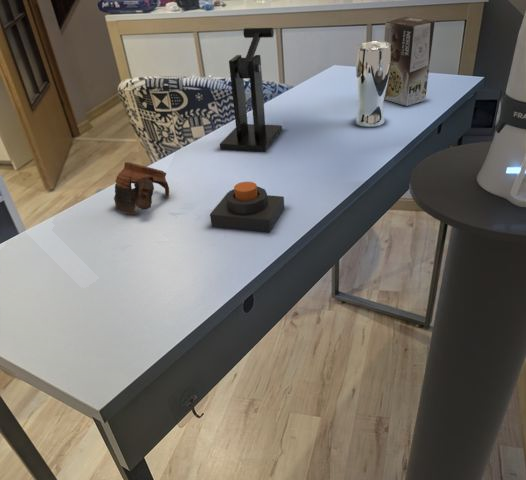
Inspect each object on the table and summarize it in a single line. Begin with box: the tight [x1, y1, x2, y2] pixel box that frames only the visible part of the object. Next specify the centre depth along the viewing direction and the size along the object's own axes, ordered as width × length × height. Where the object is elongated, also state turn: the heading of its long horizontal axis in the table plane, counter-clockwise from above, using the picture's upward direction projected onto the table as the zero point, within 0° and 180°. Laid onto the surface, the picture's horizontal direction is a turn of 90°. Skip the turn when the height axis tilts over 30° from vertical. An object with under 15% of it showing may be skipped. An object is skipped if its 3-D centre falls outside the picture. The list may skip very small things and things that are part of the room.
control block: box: [209, 185, 285, 233], centre depth 84 cm, size 10×8×4 cm
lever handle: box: [237, 27, 275, 79], centre depth 104 cm, size 12×6×2 cm, turn 162°
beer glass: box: [355, 40, 391, 128], centre depth 109 cm, size 7×7×15 cm
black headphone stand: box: [219, 54, 283, 153], centre depth 106 cm, size 12×10×16 cm
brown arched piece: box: [113, 161, 170, 216], centre depth 90 cm, size 12×10×8 cm
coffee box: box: [383, 16, 436, 107], centre depth 118 cm, size 9×6×16 cm
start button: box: [233, 181, 258, 201], centre depth 83 cm, size 4×4×2 cm
